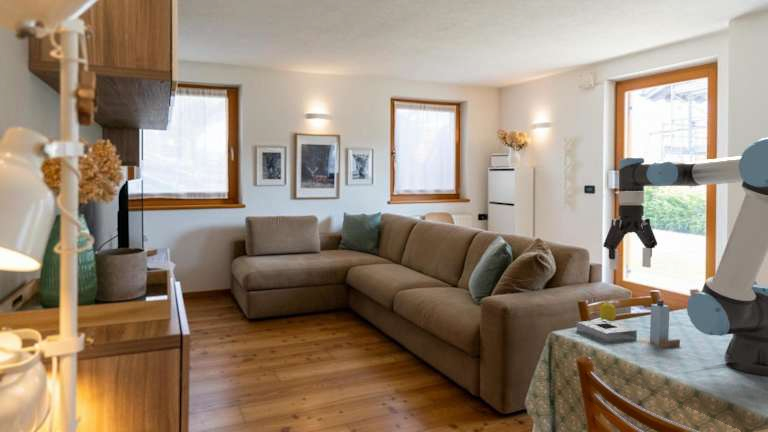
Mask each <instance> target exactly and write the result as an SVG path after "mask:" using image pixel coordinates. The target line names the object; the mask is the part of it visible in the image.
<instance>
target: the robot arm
mask: <svg viewBox="0 0 768 432" xmlns="http://www.w3.org/2000/svg"><path fill="white" fill-rule="evenodd" d="M618 165H619V167H618V203H619V204H620V205H619V204H618V205H619V206H618V216H619V219H618V218H617V219H616V218H615V219H614V218H612V219H611V224H610V228H609V231H608V233H607V235H606V238H605V240H604V242H603V248H606V249H608V259H609V269H611V270H617V271H618V270H619V249H617V247H618V246H619V245H620V243H621V242H622V240H623V238H625V236H626V235H627V234H629V233H635V234H636V236H637V237H638V239H639V240H640V242H641V243H642V245H643V246H644V247H642V266H641V267H644V268H652V267H651V261H652V259H651V258H652V257H653V256H652V255H653V253H652V252H653V249H655V247H656V246H658V242H657V239H656V236H655V234H654V232H653V227H652V226H651V219H650V218H643V216H644V212H645V211H644V210H645V209H644V205H643V204H644V201H645V187H668V186H669V187H677V186H678V187H679V186H681V187H698V186H699V187H700V186H703V185H704V186H706V185H707V186H708V185H720V184H721V185H722V184H724V185H725V184H736V183H737V184H738V183H739V184H740V183H742V184H741V188H742V190H743V192H745V196H744V198H743V200H742V203H741V206H740V208H739V211H738V214H737V217H736V218H735V222H734V223H733V227H732V230H731V232H730V235H729V238H728V239H727V240H728V241H727V243H726V246H725V248H724V251H723V254H722V256H721V259H720V261H719V264H718V266H717V269H716V271H715V274H714V276H713V275H712V276H711V277H710V276H709V277H708V278H706V280H705V281H704V285H703V287H702V290H701V291H696V292H694V293H692V294H691V295H690V296H689V298H688V299H687V303H686V312H687V315H688V317H689V321H690V322H691V323H692V325H693V326H694V328H695V329H697V331H699V332H700V333H702V334H705V335H707V336H720V337H722V336H726V335H732V337H731V340H730V342H729V344H728V346H727V348H726V349H725V352H724V361H725V362H726V363H725V365H727V366H728V367H731V368H732V369H735V370H738V371H741V372H744V373H748V374H753V375H758V376H766V377H768V286H767V285H761V284H755V281H756V279H757V277H758V274H759V272H760V270H761V267H762V265H763V263H764V260H765V257H766V256H767V254H768V137H764V138H761V139H759V140H756V141H753V142H752V143H751V144H750V145H749V146H747V147H746V148H745V149H744V151H743V152H742V154H741V156H740V155H738V156H734V157H733V156H731V157H723V158H713V159H706V160H696V161H695V160H694V161H689V162H688V161H684V162H682V161H681V162H678V161H677V162H676V161H670V160H667V161H666V160H658V161H651V162H645V159H644V157H641V156H640V157H639V156H638V157H623V158H620V160H619V164H618Z"/></svg>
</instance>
